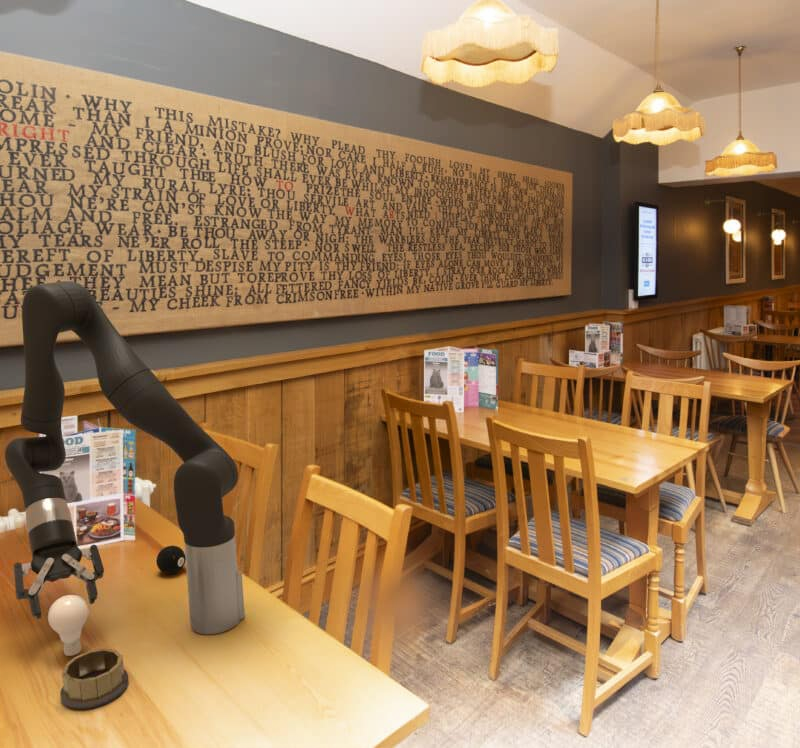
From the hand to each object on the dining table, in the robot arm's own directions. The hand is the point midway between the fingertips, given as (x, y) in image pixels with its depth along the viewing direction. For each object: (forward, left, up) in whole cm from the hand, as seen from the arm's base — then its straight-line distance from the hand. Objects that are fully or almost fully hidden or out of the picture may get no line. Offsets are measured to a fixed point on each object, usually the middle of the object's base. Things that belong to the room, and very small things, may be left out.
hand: (66, 609), depth 116 cm
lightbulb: (0, +2, -8) cm, 8 cm away
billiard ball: (-27, -15, -8) cm, 32 cm away
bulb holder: (+1, +15, -8) cm, 17 cm away
